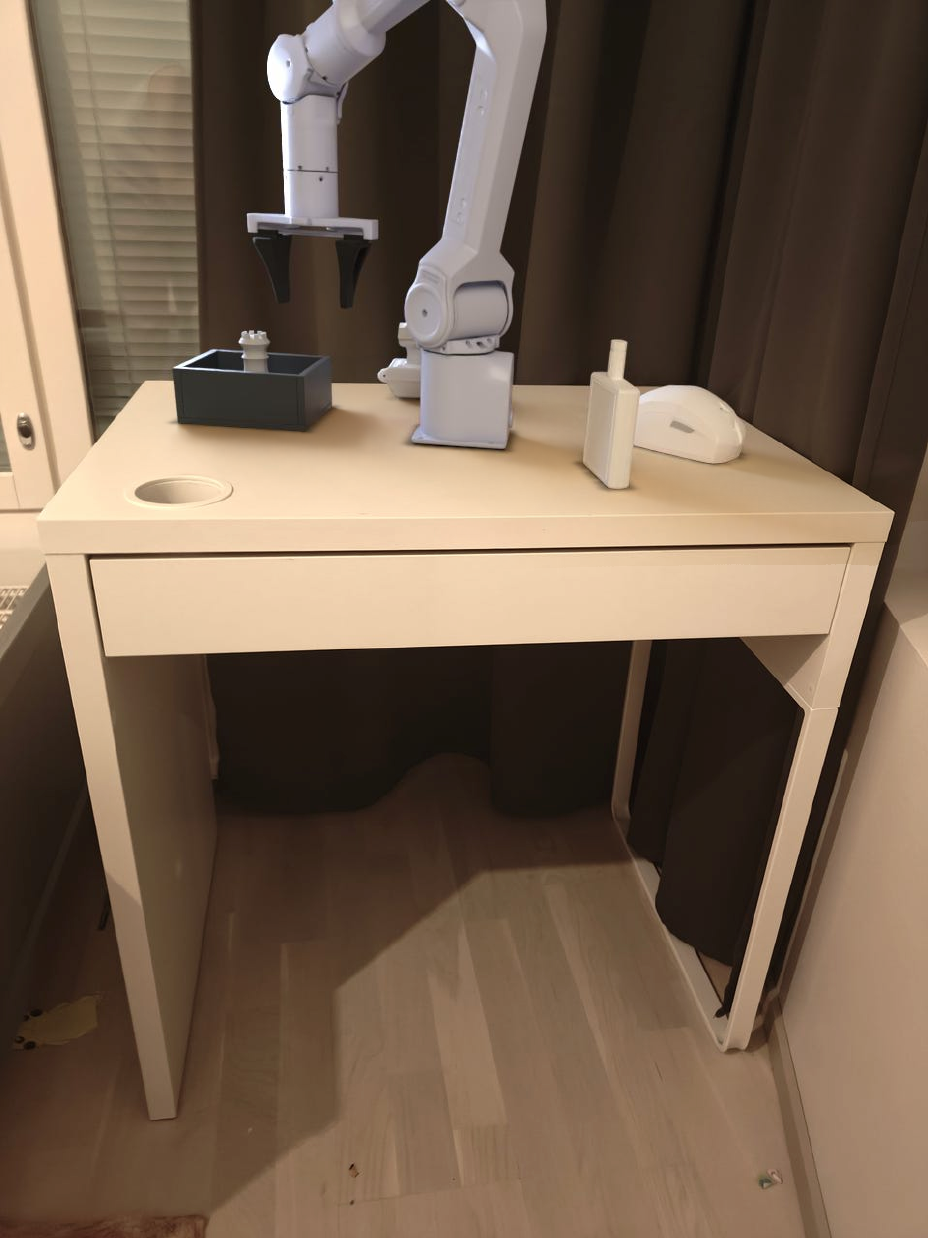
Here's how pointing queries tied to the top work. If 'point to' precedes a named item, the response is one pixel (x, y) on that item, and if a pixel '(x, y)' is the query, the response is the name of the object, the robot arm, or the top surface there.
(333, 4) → the robot arm
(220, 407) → the storage bin
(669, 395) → the computer mouse
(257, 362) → the rook chess piece
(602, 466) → the perfume bottle
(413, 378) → the white mechanical part
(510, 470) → the top surface
